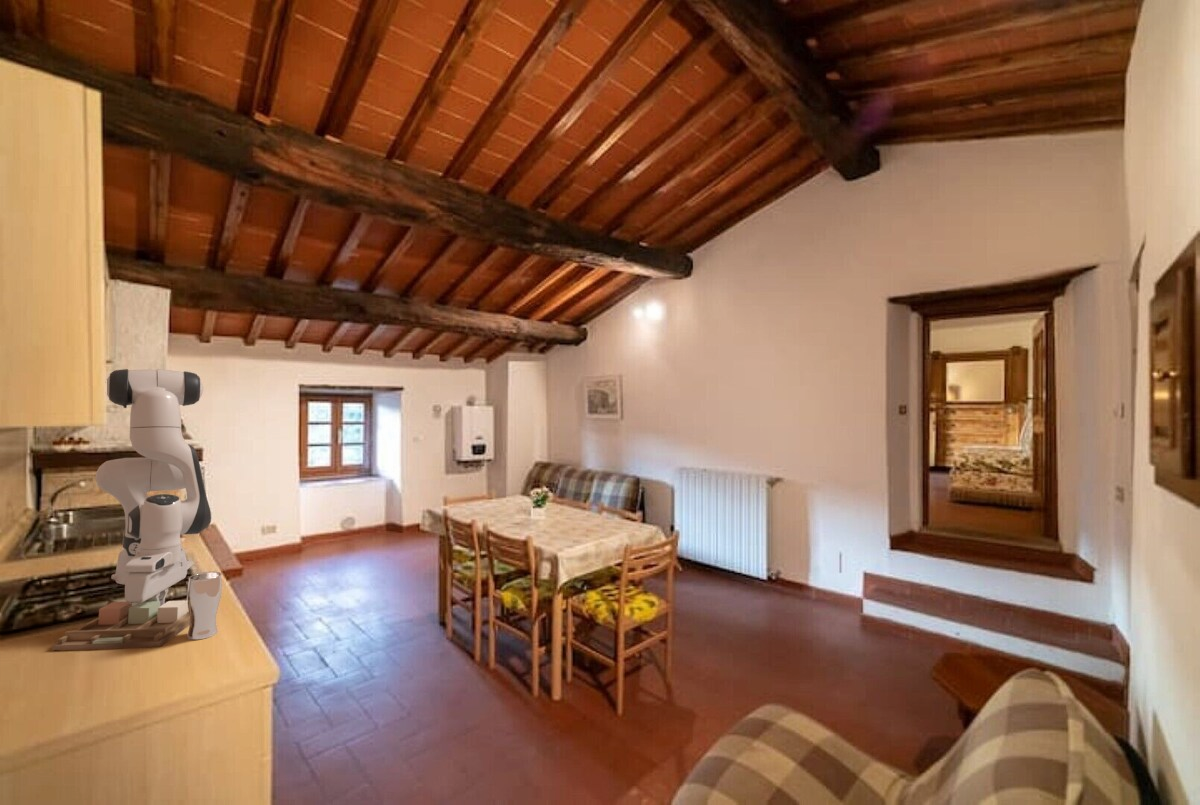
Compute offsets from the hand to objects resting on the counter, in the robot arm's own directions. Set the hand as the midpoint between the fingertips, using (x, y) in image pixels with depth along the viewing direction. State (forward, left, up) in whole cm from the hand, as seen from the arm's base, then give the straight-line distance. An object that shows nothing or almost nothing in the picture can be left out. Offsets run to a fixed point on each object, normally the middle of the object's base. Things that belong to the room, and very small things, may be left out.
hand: (157, 607), depth 139 cm
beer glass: (+12, +17, -3) cm, 21 cm away
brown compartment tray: (+9, 0, -3) cm, 9 cm away
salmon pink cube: (+5, -7, -1) cm, 8 cm away
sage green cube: (+5, 0, -1) cm, 5 cm away
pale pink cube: (+5, +6, -1) cm, 8 cm away
